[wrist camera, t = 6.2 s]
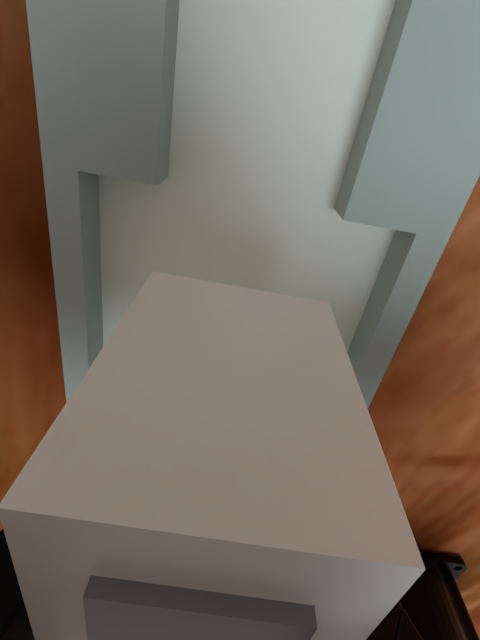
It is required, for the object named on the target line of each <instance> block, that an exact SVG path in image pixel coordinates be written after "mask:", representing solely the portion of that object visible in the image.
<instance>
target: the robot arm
mask: <svg viewBox="0 0 480 640" xmlns="http://www.w3.org/2000/svg"><path fill="white" fill-rule="evenodd" d="M420 555H421V558H422V560H423V563H424V566H425V569H426V570H425V571H424V572H423V573H422V574H421V575H420V577H419V578H418V579H417V580H416V581H415V582H414V584H413V585H412V586H411V587H410V588H409V590H408V591H407V592H406V593H405V594H404V595H403V597H402V598H401V599H400V600H399V601H398V602H397V604H396V605H395V606H394V607H393V608H392V609H391V611H390V612H389V613H388V614H387V615H386V617H385V618H384V619H383V620H382V621H381V622H380V624H379V625H378V626H377V627H376V628H375V629H374V631H373V632H372V633H371V634H370V635H369V637H368V638H367V639H366V640H479V637H478V635H477V632H476V630H475V628H474V625H473V623H472V620H471V618H470V616H469V613H468V611H467V608H466V606H465V603H464V601H463V599H462V596H461V594H460V591H459V589H458V587H457V584H456V582H455V580H456V579H457V578H458V577H459V576H460V575H461V574H462V573H463V572H464V571H465V570H466V568H467V567H466V565H465V563H464V560H463V559H462V558H459V557H453V556H446V555H439V554H432V553H425V552H420ZM0 640H35V638H34V635H33V631H32V628H31V624H30V621H29V617H28V614H27V610H26V607H25V603H24V600H23V596H22V593H21V589H20V586H19V582H18V579H17V575H16V572H15V568H14V565H13V561H12V558H11V554H10V551H9V547H8V544H7V540H6V537H5V533H4V530H3V529H2V530H1V531H0Z"/></svg>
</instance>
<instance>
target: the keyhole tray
mask: <svg viewBox="0 0 480 640" xmlns="http://www.w3.org/2000/svg"><path fill="white" fill-rule="evenodd" d="M26 8H27V18H28V28H29V38H30V48H31V58H32V67H33V77H34V87H35V97H36V107H37V117H38V127H39V137H40V146H41V156H42V166H43V176H44V186H45V196H46V206H47V216H48V225H49V235H50V245H51V255H52V265H53V275H54V285H55V295H56V305H57V314H58V324H59V334H60V344H61V354H62V364H63V374H64V384H65V393H66V403H67V401H68V400H69V398H70V397H71V395H72V394H73V392H74V391H75V389H76V388H77V386H78V385H79V383H80V382H81V380H82V378H83V377H84V375H85V374H86V372H87V371H88V369H89V368H90V366H91V365H92V363H93V362H94V360H95V359H96V357H97V356H98V354H99V353H100V351H101V350H102V348H103V347H104V345H105V344H106V342H107V341H108V339H109V338H110V336H111V335H112V333H113V331H114V330H115V328H116V327H117V325H118V324H119V322H120V321H121V319H122V318H123V316H124V315H125V313H126V312H127V310H128V309H129V307H130V306H131V304H132V303H133V301H134V300H135V298H136V297H137V295H138V294H139V292H140V291H141V289H142V288H143V286H144V284H145V283H146V281H147V280H148V278H149V277H150V275H151V274H152V272H159V273H164V274H170V275H176V276H181V277H187V278H193V279H198V280H204V281H210V282H215V283H221V284H227V285H232V286H238V287H244V288H249V289H255V290H261V291H266V292H272V293H278V294H283V295H289V296H295V297H300V298H306V299H312V300H317V301H323V302H329V304H330V307H331V310H332V312H333V315H334V318H335V321H336V323H337V326H338V329H339V332H340V334H341V337H342V340H343V343H344V345H345V348H346V351H347V354H348V356H349V359H350V362H351V365H352V367H353V370H354V373H355V376H356V378H357V381H358V384H359V387H360V390H361V392H362V395H363V398H364V401H365V403H366V406H367V409H368V407H369V405H370V403H371V401H372V399H373V397H374V395H375V393H376V391H377V388H378V386H379V384H380V382H381V380H382V378H383V376H384V374H385V372H386V370H387V368H388V366H389V363H390V361H391V359H392V357H393V355H394V353H395V351H396V349H397V347H398V345H399V343H400V341H401V338H402V336H403V334H404V332H405V330H406V328H407V326H408V324H409V322H410V320H411V318H412V316H413V313H414V311H415V309H416V307H417V305H418V303H419V301H420V299H421V297H422V295H423V293H424V291H425V288H426V286H427V284H428V282H429V280H430V278H431V276H432V274H433V272H434V270H435V268H436V265H437V263H438V261H439V259H440V257H441V255H442V253H443V251H444V249H445V247H446V245H447V243H448V240H449V238H450V236H451V234H452V232H453V230H454V228H455V226H456V224H457V222H458V220H459V218H460V215H461V213H462V211H463V209H464V207H465V205H466V203H467V201H468V199H469V197H470V195H471V193H472V190H473V188H474V186H475V184H476V182H477V180H478V178H479V176H480V0H26Z"/></svg>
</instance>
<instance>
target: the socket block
mask: <svg viewBox="0 0 480 640" xmlns="http://www.w3.org/2000/svg"><path fill="white" fill-rule="evenodd" d="M0 520H1V523H2V526H3V530H4V533H5V537H6V540H7V544H8V547H9V551H10V554H11V558H12V561H13V565H14V568H15V572H16V575H17V579H18V582H19V586H20V589H21V593H22V596H23V600H24V603H25V607H26V610H27V614H28V617H29V621H30V624H31V628H32V631H33V635H34V638H35V640H366V639H367V638H368V637H369V635H370V634H371V633H372V632H373V631H374V629H375V628H376V627H377V626H378V625H379V624H380V622H381V621H382V620H383V619H384V618H385V617H386V615H387V614H388V613H389V612H390V611H391V609H392V608H393V607H394V606H395V605H396V604H397V602H398V601H399V600H400V599H401V598H402V597H403V595H404V594H405V593H406V592H407V591H408V590H409V588H410V587H411V586H412V585H413V584H414V582H415V581H416V580H417V579H418V578H419V577H420V575H421V574H422V573H423V572H424V571H425V570H426V569H425V566H424V563H423V560H422V558H421V555H420V552H419V549H418V547H417V544H416V541H415V538H414V536H413V533H412V530H411V527H410V525H409V522H408V519H407V516H406V513H405V511H404V508H403V505H402V502H401V500H400V497H399V494H398V491H397V489H396V486H395V483H394V480H393V478H392V475H391V472H390V469H389V467H388V464H387V461H386V458H385V456H384V453H383V450H382V447H381V445H380V442H379V439H378V436H377V434H376V431H375V428H374V425H373V423H372V420H371V417H370V414H369V412H368V409H367V406H366V403H365V401H364V398H363V395H362V392H361V390H360V387H359V384H358V381H357V378H356V376H355V373H354V370H353V367H352V365H351V362H350V359H349V356H348V354H347V351H346V348H345V345H344V343H343V340H342V337H341V334H340V332H339V329H338V326H337V323H336V321H335V318H334V315H333V312H332V310H331V307H330V304H329V302H323V301H317V300H312V299H306V298H300V297H295V296H289V295H283V294H278V293H272V292H266V291H261V290H255V289H249V288H244V287H238V286H232V285H227V284H221V283H215V282H210V281H204V280H198V279H193V278H187V277H181V276H176V275H170V274H164V273H159V272H152V274H151V275H150V277H149V278H148V280H147V281H146V283H145V284H144V286H143V288H142V289H141V291H140V292H139V294H138V295H137V297H136V298H135V300H134V301H133V303H132V304H131V306H130V307H129V309H128V310H127V312H126V313H125V315H124V316H123V318H122V319H121V321H120V322H119V324H118V325H117V327H116V328H115V330H114V331H113V333H112V335H111V336H110V338H109V339H108V341H107V342H106V344H105V345H104V347H103V348H102V350H101V351H100V353H99V354H98V356H97V357H96V359H95V360H94V362H93V363H92V365H91V366H90V368H89V369H88V371H87V372H86V374H85V375H84V377H83V378H82V380H81V382H80V383H79V385H78V386H77V388H76V389H75V391H74V392H73V394H72V395H71V397H70V398H69V400H68V401H67V403H66V404H65V406H64V407H63V409H62V410H61V412H60V413H59V415H58V416H57V418H56V419H55V421H54V422H53V424H52V425H51V427H50V428H49V430H48V432H47V433H46V435H45V436H44V438H43V439H42V441H41V442H40V444H39V445H38V447H37V448H36V450H35V451H34V453H33V454H32V456H31V457H30V459H29V460H28V462H27V463H26V465H25V466H24V468H23V469H22V471H21V472H20V474H19V475H18V477H17V479H16V480H15V482H14V483H13V485H12V486H11V488H10V489H9V491H8V492H7V494H6V495H5V497H4V498H3V500H2V501H1V503H0Z"/></svg>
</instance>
